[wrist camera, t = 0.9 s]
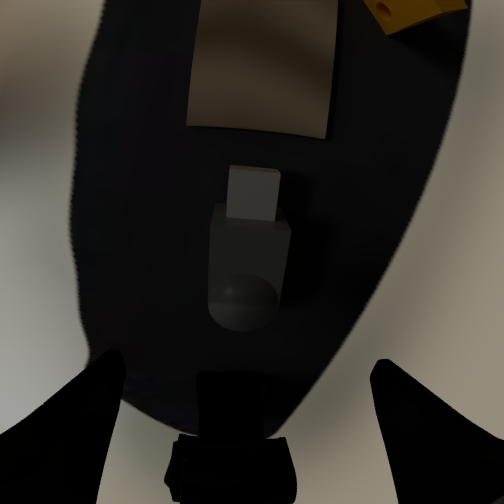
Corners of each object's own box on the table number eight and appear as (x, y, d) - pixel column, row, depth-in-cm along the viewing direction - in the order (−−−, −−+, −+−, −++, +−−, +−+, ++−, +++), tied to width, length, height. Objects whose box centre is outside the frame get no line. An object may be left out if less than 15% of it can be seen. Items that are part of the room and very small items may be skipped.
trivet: (322, 138, 16) (325, 139, 16) (188, 125, 16) (186, 125, 15) (335, -2, 12) (338, -5, 11) (206, -18, 11) (206, -22, 11)
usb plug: (267, 296, 21) (273, 332, 17) (211, 293, 20) (207, 329, 17) (285, 167, 17) (299, 180, 13) (219, 161, 17) (213, 172, 13)
